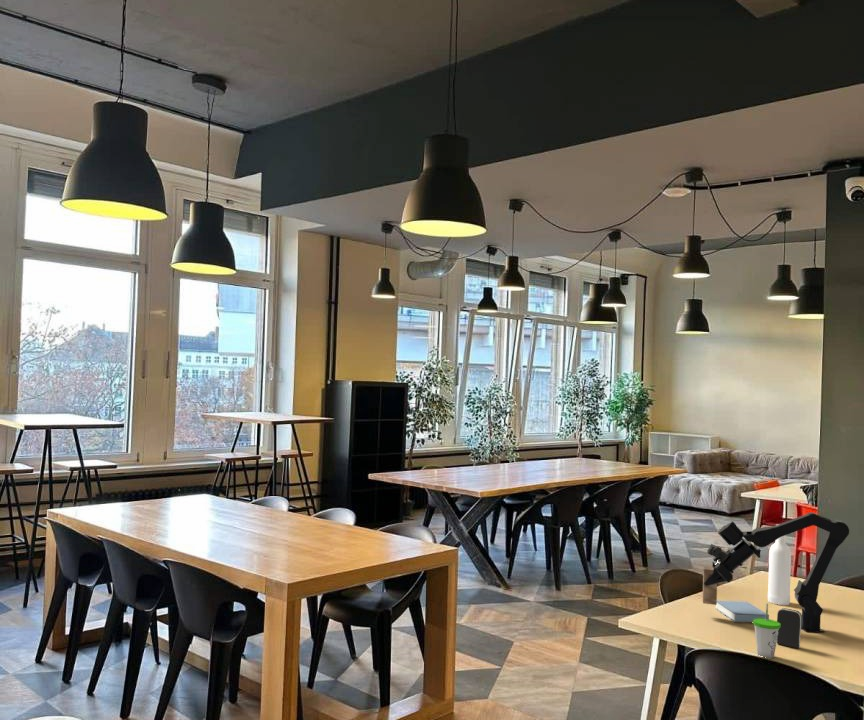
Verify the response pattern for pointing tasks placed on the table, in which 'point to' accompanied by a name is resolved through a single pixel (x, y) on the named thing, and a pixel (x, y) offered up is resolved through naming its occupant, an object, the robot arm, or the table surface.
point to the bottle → (779, 572)
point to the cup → (766, 635)
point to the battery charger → (789, 627)
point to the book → (740, 611)
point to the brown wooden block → (709, 588)
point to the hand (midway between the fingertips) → (704, 583)
